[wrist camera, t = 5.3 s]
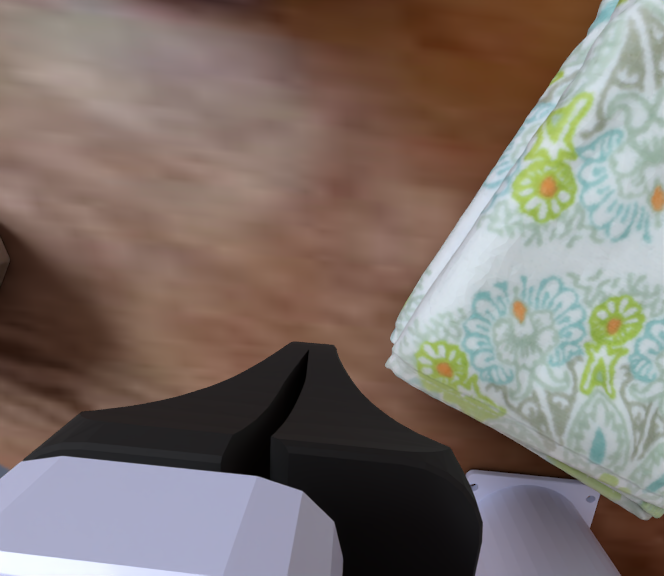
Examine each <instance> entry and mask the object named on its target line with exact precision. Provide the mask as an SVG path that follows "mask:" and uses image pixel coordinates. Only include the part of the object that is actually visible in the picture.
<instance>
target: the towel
mask: <svg viewBox="0 0 664 576" xmlns="http://www.w3.org/2000/svg"><path fill="white" fill-rule="evenodd" d="M390 339H391V342H392V343H394V346H393V348H392V355H391V356H390V358H389V359H388V360H387V362H386V364H385V366H386V368H389V369H391V370H392V371H393V372H394V374H395V375H396V376H397V377H399V378H401V379H403V380H404V381H406V382H407V383H409V384H410V385H412V386H413V387H415V388H417V389H419V390H421V391H423V392H425V393H426V394H428V395H430V396H431V397H433V398H435V399H437V400H439V401H441V402H443V403H445V404H446V405H448V406H451V407H453V408H455V409H457V410H459V411H461V412H463V413H465V414H466V415H468V416H470V417H472V418H474V419H476V420H477V421H479V422H481V423H483V424H485V425H487V426H489V427H491V428H493V429H495V430H496V431H498V432H500V433H502V434H503V435H505V436H507V437H509V438H510V439H512V440H514V441H515V442H517V443H519V444H520V445H522V446H524V447H525V448H527V449H529V450H530V451H532V452H534V453H535V454H537V455H539V456H540V457H542V458H543V459H545V460H546V461H548V462H549V463H551V464H553V465H555V466H556V467H558V468H560V469H561V470H563V471H565V472H566V473H568V474H569V475H571V476H572V477H574V478H576V479H578V480H579V481H580V482H582V483H584V484H585V485H587V486H589V487H590V488H592V489H594V490H595V491H597V492H599V493H600V494H601V495H603V496H605V497H606V498H608V499H609V500H611V501H613V502H614V503H616V504H618V505H620V506H621V507H623V508H625V509H626V510H627V511H629V512H631V513H633V514H634V515H636V516H637V517H638V518H640V519H642V520H649V519H650V518H651V517H652V516H653V517H655V518H660V517H661V516H662V515H663V514H664V0H603V1H602V2H601V4H600V7H599V10H598V13H597V17H596V19H595V21H594V22H593V23H592V25H591V26H590V28H589V29H588V33H587V37H586V38H585V39H584V40H583V41H582V42H581V43H580V44H579V45H578V46H577V47H576V48H575V49H574V50H573V52H572V53H571V54H570V55H569V57H568V58H567V59H566V61H565V62H564V63H563V65H562V67H561V68H560V70H559V71H558V73H557V75H556V76H555V77H554V78H553V79H552V81H551V83H550V85H549V86H548V88H547V89H546V91H545V92H544V94H543V95H542V96H541V98H540V99H539V101H538V103H537V104H536V106H535V107H534V108H533V110H532V111H531V112H530V114H529V115H528V116H527V118H526V119H525V121H524V123H523V125H522V126H521V127H520V129H519V131H518V133H517V134H516V135H515V137H514V138H513V140H512V141H511V142H510V144H509V145H508V147H507V148H506V149H505V151H504V153H503V155H502V156H501V157H500V159H499V161H498V162H497V164H496V166H495V167H494V168H493V169H492V171H491V172H490V174H489V175H488V177H487V179H486V180H485V182H484V183H483V185H482V186H481V188H480V190H479V191H478V193H477V194H476V196H475V197H474V199H473V201H472V202H471V204H470V205H469V206H468V208H467V209H466V211H465V212H464V214H463V215H462V216H461V218H460V219H459V221H458V223H457V224H456V226H455V228H454V229H453V230H452V232H451V233H450V235H449V236H448V238H447V239H446V241H445V242H444V244H443V246H442V247H441V249H440V250H439V252H438V253H437V255H436V256H435V258H434V259H433V261H432V262H431V263H430V265H429V266H428V268H427V269H426V271H425V272H424V273H423V275H422V276H421V278H420V280H419V281H418V283H417V285H416V286H415V288H414V290H413V292H412V293H411V295H410V296H409V298H408V300H407V301H406V303H405V305H404V307H403V309H402V310H401V312H400V314H399V316H398V318H397V321H396V328H395V329H394V331H393V333H392V334H391V338H390Z"/></svg>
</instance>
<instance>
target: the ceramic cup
mask: <svg viewBox="0 0 664 576" xmlns="http://www.w3.org/2000/svg"><path fill="white" fill-rule="evenodd" d="M9 262H10V258H9V255H8V253H7V251H6V249H5V246H4V244H3V242H2V240H1V238H0V287H1V284H2V281H3V278H4V276H5V273H6V270H7V267H8V265H9Z"/></svg>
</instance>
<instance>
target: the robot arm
mask: <svg viewBox="0 0 664 576" xmlns="http://www.w3.org/2000/svg"><path fill="white" fill-rule="evenodd" d="M472 484H476V485H474V486H470V485H472ZM588 496H590V497H588ZM587 497H588V498H587ZM599 497H600V493H599V492H597V491H595V490H594V489H592V488H590V487H589V486H587V485H585V484H584V483H582V482H580V481H579V480H573V479H563V478H553V477H543V476H533V475H523V474H513V473H503V472H493V471H483V470H470V471H468V472H467V473H466V476H465V474H464V472H463V470H462V468H461V466H460V465H459V463H458V461H457V459H456V457H455V455H454V454H453V452H452V450H451V448H450V447H448V446H445V445H443V444H441V443H438V442H436V441H434V440H432V439H429V438H427V437H425V436H422V435H420V434H418V433H416V432H414V431H412V430H410V429H409V428H407V427H405V426H403V425H402V424H400V423H398V422H397V421H395V420H394V419H392V418H391V417H389V416H388V415H386V414H385V413H384V412H382V411H381V410H380V409H379V408H377V407H376V406H375V405H374V404H372V403H371V402H370V401H369V400H368V399H367V398H366V397H365V396H364V395H363V394H362V393H361V392H360V390H359V389H358V388H357V387H356V385H355V384H354V383H353V381H352V380H351V378H350V377H349V375H348V374H347V372H346V370H345V369H344V367H343V365H342V363H341V361H340V359H339V356H338V354H337V349H336V348H335V346H334V345H328V344H317V343H305V342H291V343H289V344H288V345H286V346H285V347H283V348H282V349H280V350H279V351H277V352H276V353H274V354H273V355H271V356H270V357H268V358H267V359H265V360H263V361H262V362H260V363H258V364H257V365H255V366H253V367H251V368H249V369H248V370H246V371H244V372H242V373H240V374H238V375H236V376H234V377H232V378H230V379H228V380H225V381H223V382H220V383H218V384H215V385H213V386H210V387H207V388H204V389H201V390H197V391H194V392H191V393H188V394H185V395H181V396H178V397H174V398H169V399H165V400H161V401H156V402H151V403H146V404H140V405H134V406H128V407H120V408H111V409H103V410H95V411H84V412H81V413H79V414H78V415H77V416H76V417H75V418H73V419H72V420H71V421H70V422H68V423H67V424H66V425H65V426H64V427H62V428H61V429H60V430H59V431H58V432H56V433H55V434H54V435H53V436H51V437H50V438H49V439H48V440H47V441H45V442H44V443H43V444H42V445H41V446H39V447H38V448H37V449H36V450H34V451H33V452H32V453H31V454H30V455H28V456H27V457H26V458H25V459H24V460H23V461H22V462H20V463H19V464H18V465H16V466H15V467H14V468H13V469H12V470H10V471H9V472H8V473H7V474H6V475H4V476H3V477H2V478H1V479H0V576H621V574H620V573H619V571H618V570H617V569H616V567H615V566H614V564H613V563H612V561H611V560H610V558H609V557H608V555H607V554H606V552H605V551H604V549H603V548H602V546H601V545H600V543H599V542H598V540H597V539H596V537H595V536H594V534H593V533H592V531H591V530H590V526H591V523H592V520H593V516H594V513H595V510H596V507H597V503H598V500H599Z"/></svg>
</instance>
